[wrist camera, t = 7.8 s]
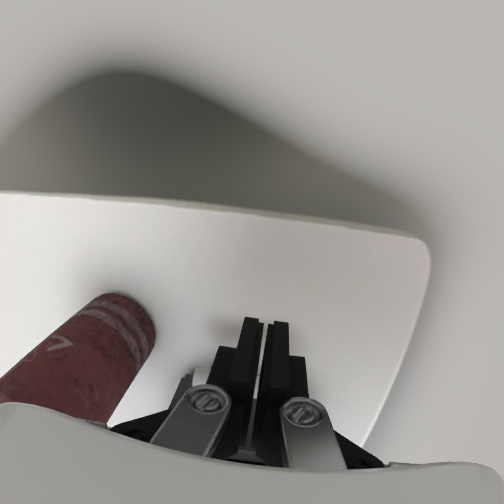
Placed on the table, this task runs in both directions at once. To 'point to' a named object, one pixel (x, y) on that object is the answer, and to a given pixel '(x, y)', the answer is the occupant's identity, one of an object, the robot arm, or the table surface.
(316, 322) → the table surface
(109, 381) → the can
